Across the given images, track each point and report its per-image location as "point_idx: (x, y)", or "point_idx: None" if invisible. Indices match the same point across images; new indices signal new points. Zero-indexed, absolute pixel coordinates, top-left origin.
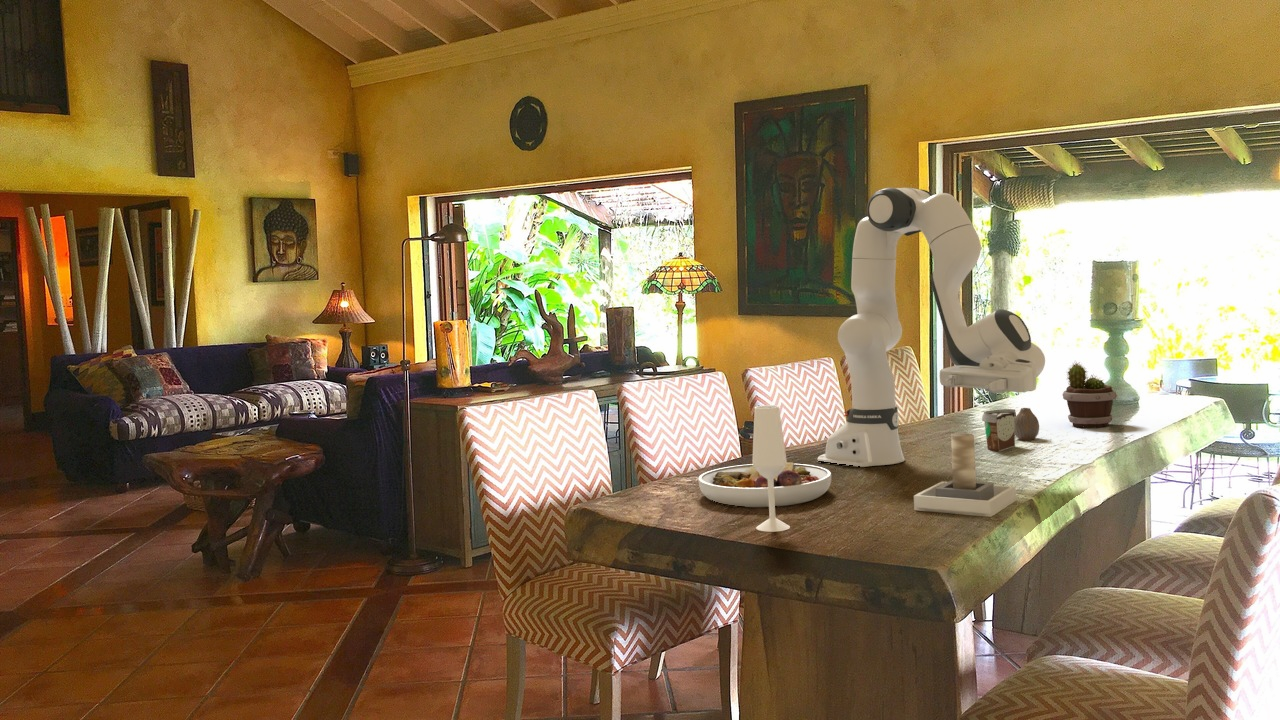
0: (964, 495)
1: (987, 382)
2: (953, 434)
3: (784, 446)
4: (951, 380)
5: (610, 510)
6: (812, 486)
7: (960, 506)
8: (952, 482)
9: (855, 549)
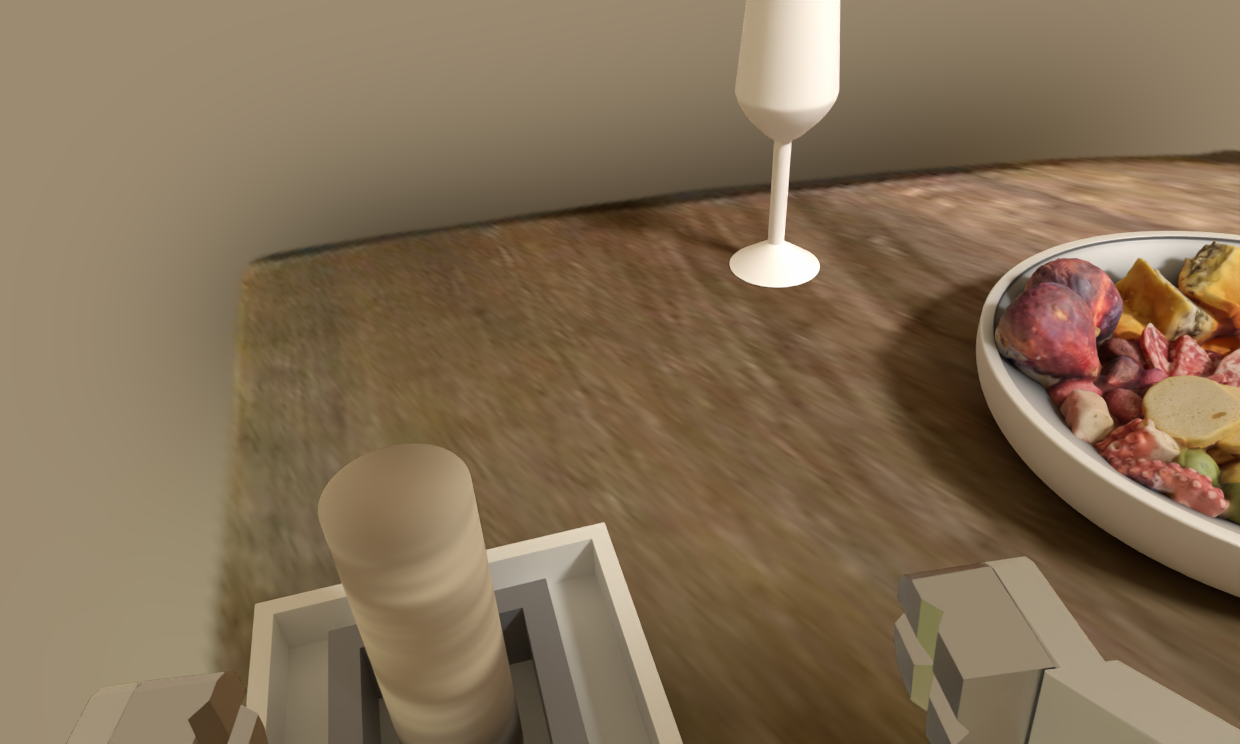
0: None
1: (186, 699)
2: (466, 491)
3: (755, 53)
4: (905, 576)
5: (1225, 178)
6: (991, 387)
7: None
8: (555, 730)
9: (474, 262)
